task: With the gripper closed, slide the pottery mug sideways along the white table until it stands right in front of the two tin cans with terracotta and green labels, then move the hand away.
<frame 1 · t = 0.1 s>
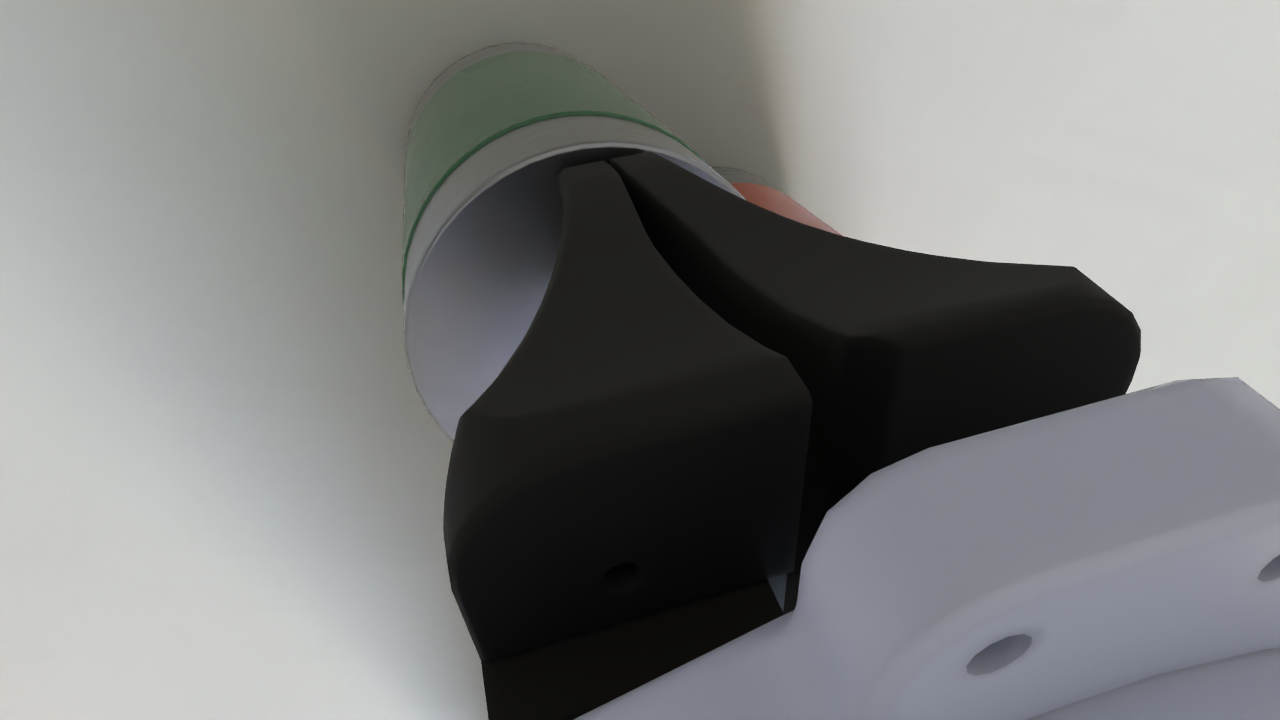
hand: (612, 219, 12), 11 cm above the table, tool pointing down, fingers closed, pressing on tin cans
tin cans: (620, 216, 24), on the table
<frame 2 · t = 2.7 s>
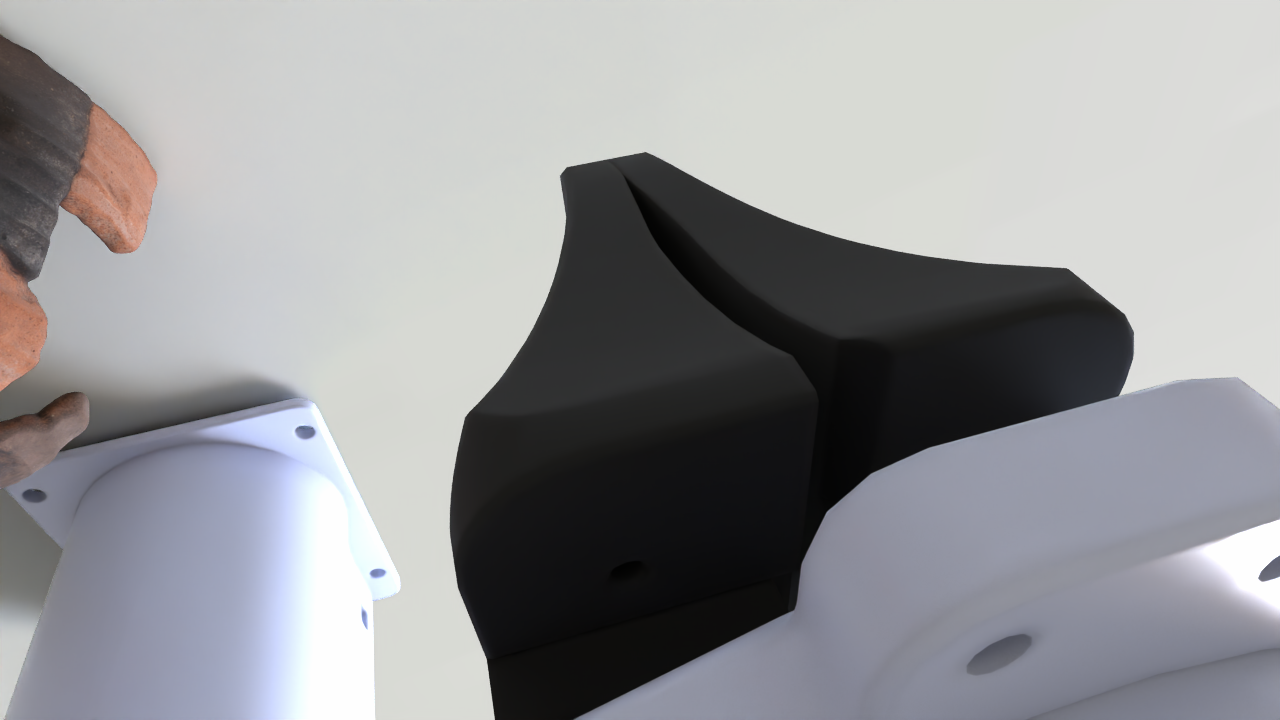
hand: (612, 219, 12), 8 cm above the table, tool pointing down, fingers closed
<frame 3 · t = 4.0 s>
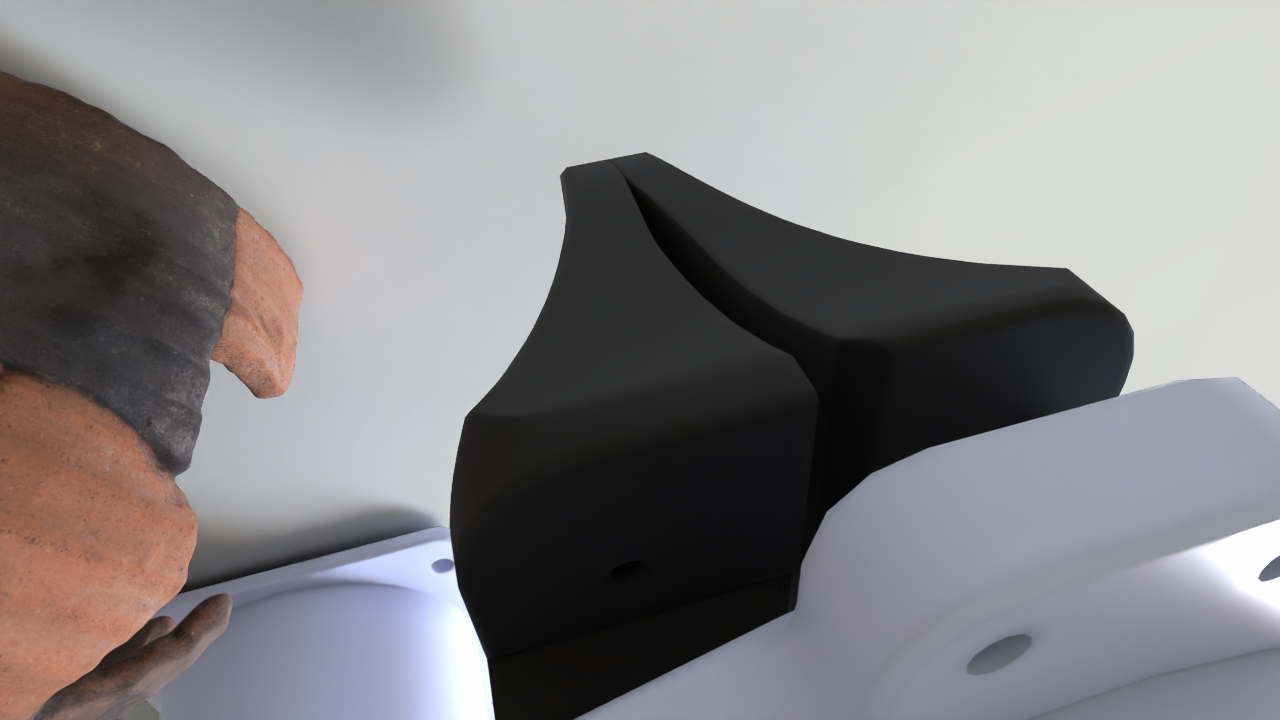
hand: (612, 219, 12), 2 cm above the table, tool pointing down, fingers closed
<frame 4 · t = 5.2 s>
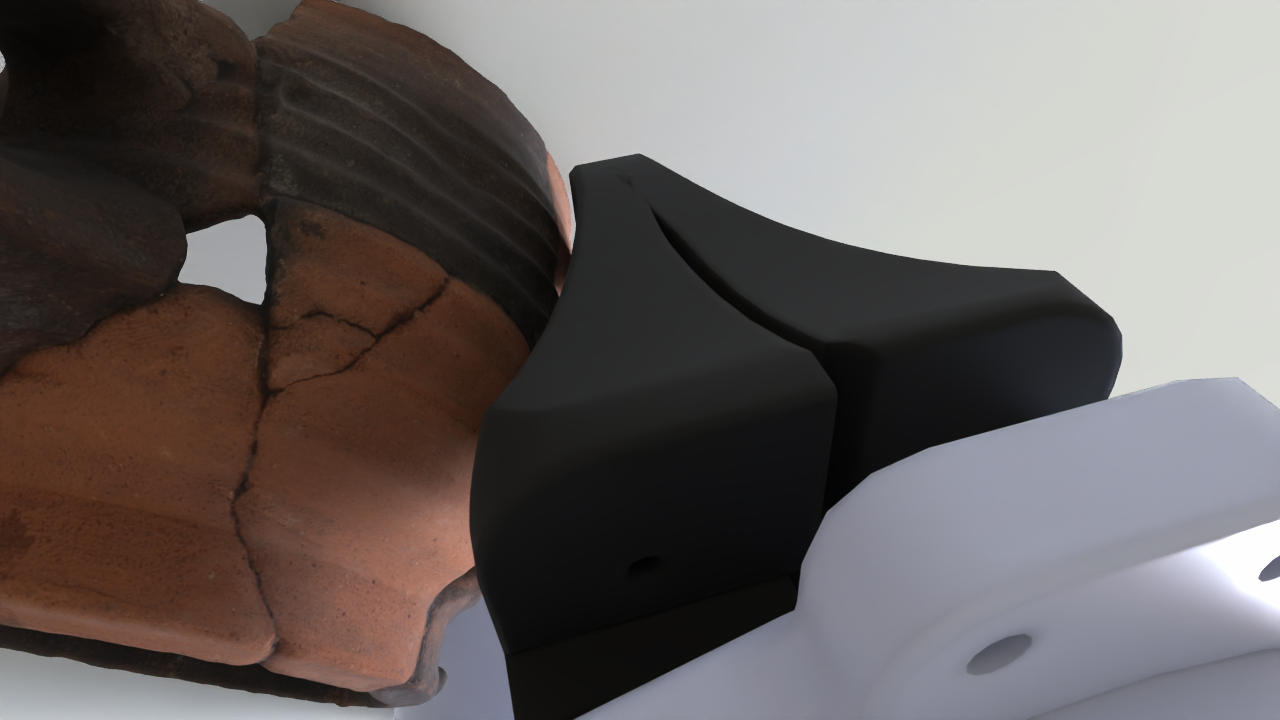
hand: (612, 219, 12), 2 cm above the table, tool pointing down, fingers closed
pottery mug: (252, 221, 13), on the table, touching gripper
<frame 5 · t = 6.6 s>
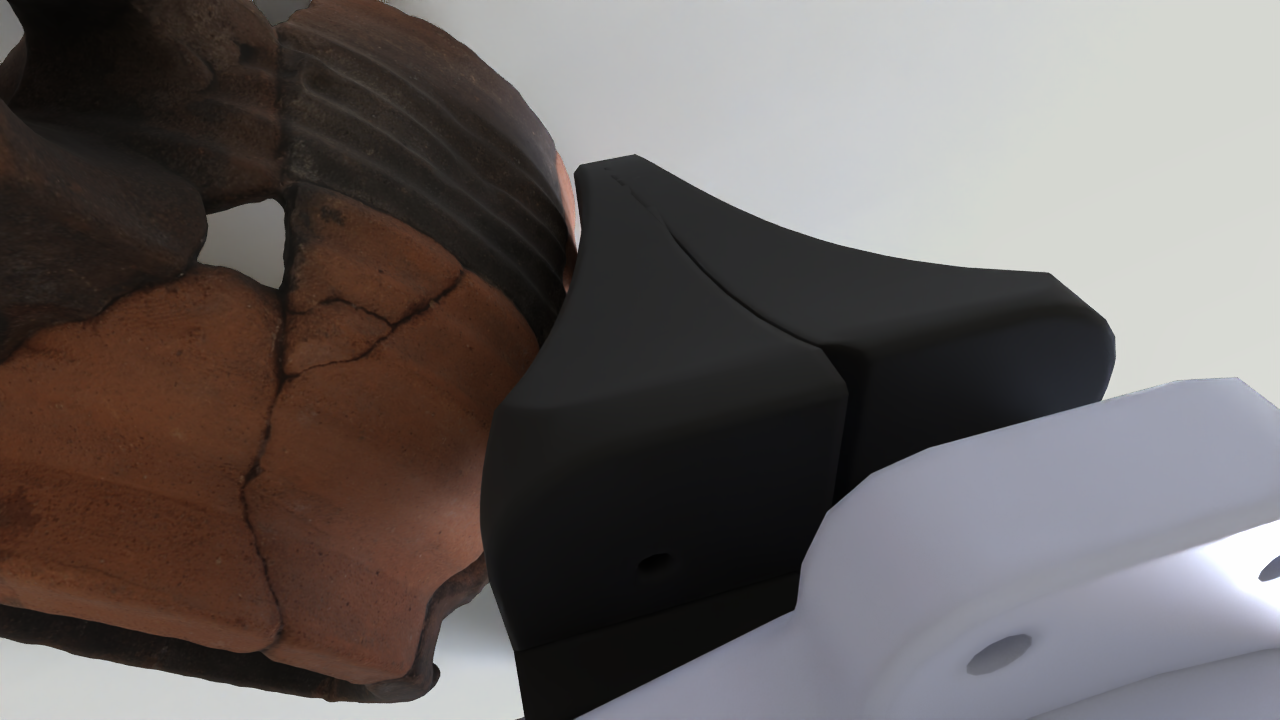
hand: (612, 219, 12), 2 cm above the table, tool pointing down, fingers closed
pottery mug: (255, 209, 12), on the table, touching gripper
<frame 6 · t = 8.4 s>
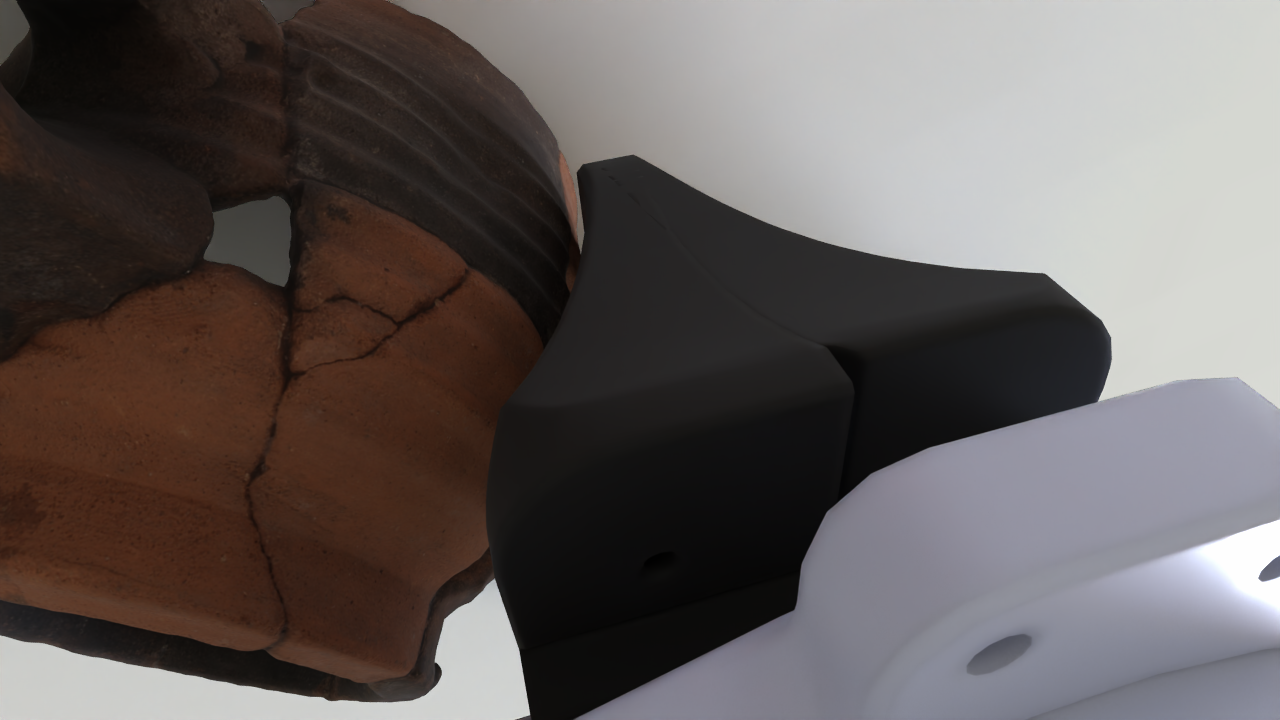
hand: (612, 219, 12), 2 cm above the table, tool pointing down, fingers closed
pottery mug: (257, 207, 12), on the table, touching gripper
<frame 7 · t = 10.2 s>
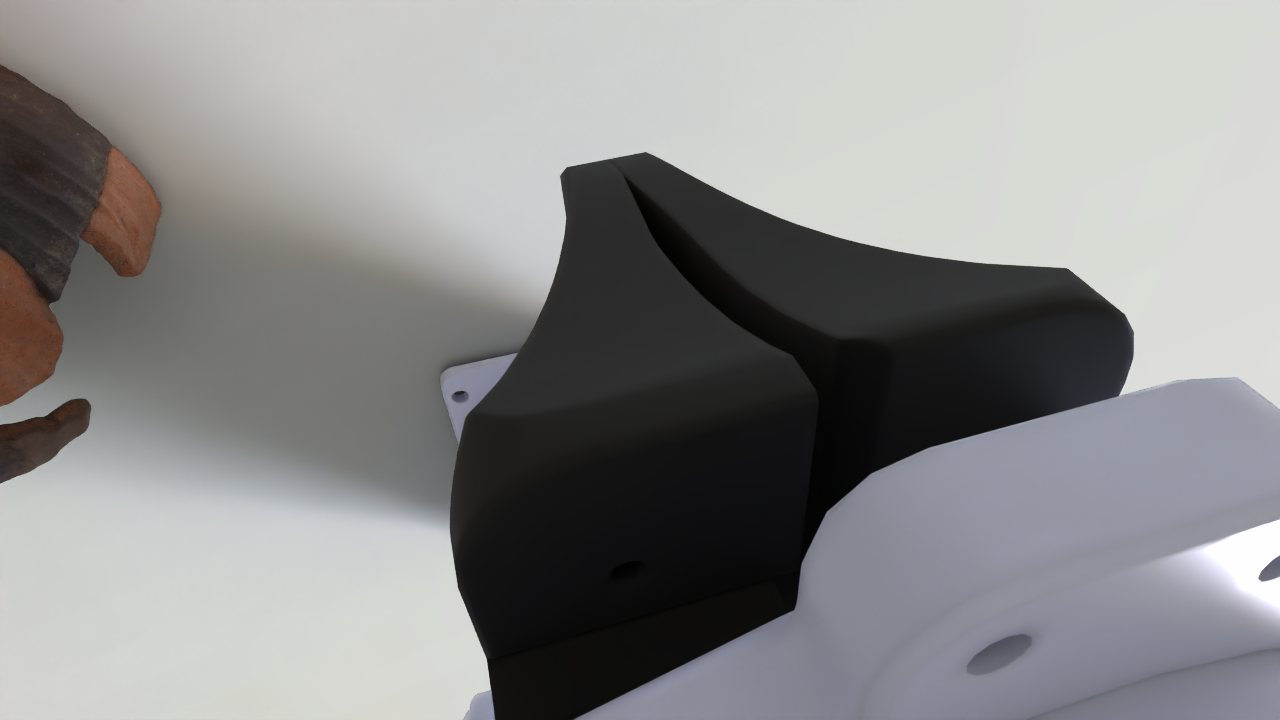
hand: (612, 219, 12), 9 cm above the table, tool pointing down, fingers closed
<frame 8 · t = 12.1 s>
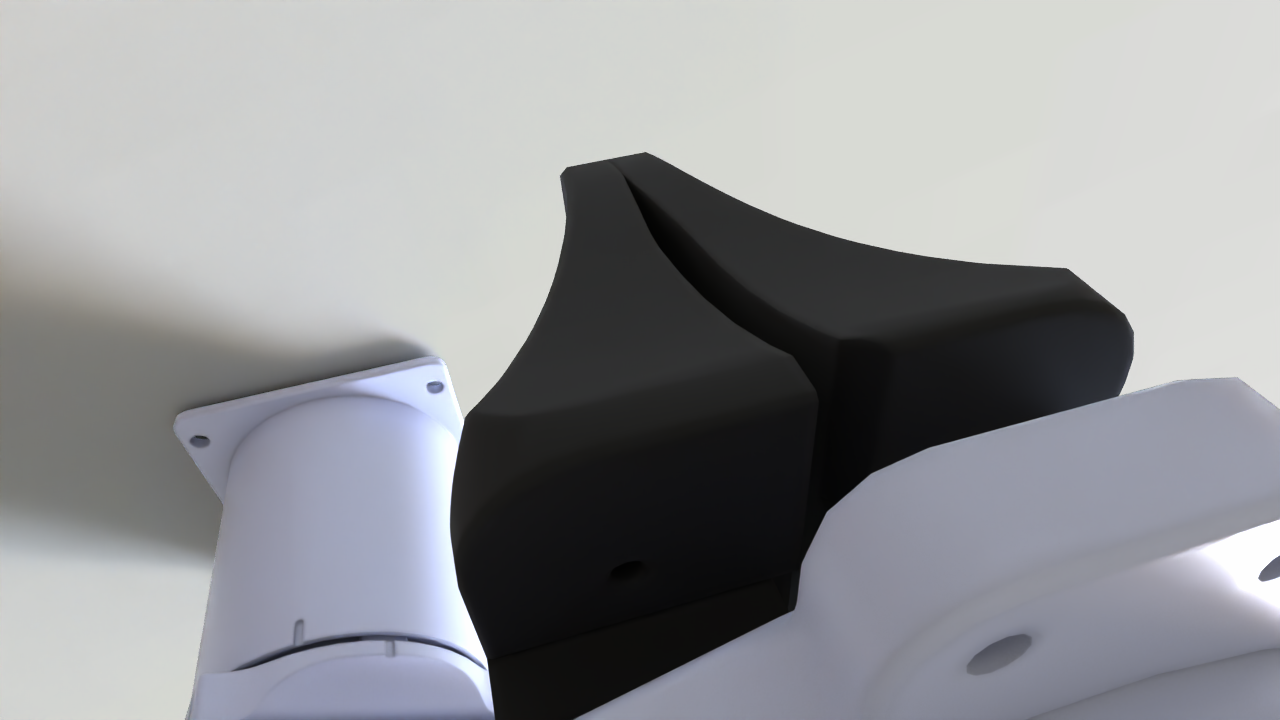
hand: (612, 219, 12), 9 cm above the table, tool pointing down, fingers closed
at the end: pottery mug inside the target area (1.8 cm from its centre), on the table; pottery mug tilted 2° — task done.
